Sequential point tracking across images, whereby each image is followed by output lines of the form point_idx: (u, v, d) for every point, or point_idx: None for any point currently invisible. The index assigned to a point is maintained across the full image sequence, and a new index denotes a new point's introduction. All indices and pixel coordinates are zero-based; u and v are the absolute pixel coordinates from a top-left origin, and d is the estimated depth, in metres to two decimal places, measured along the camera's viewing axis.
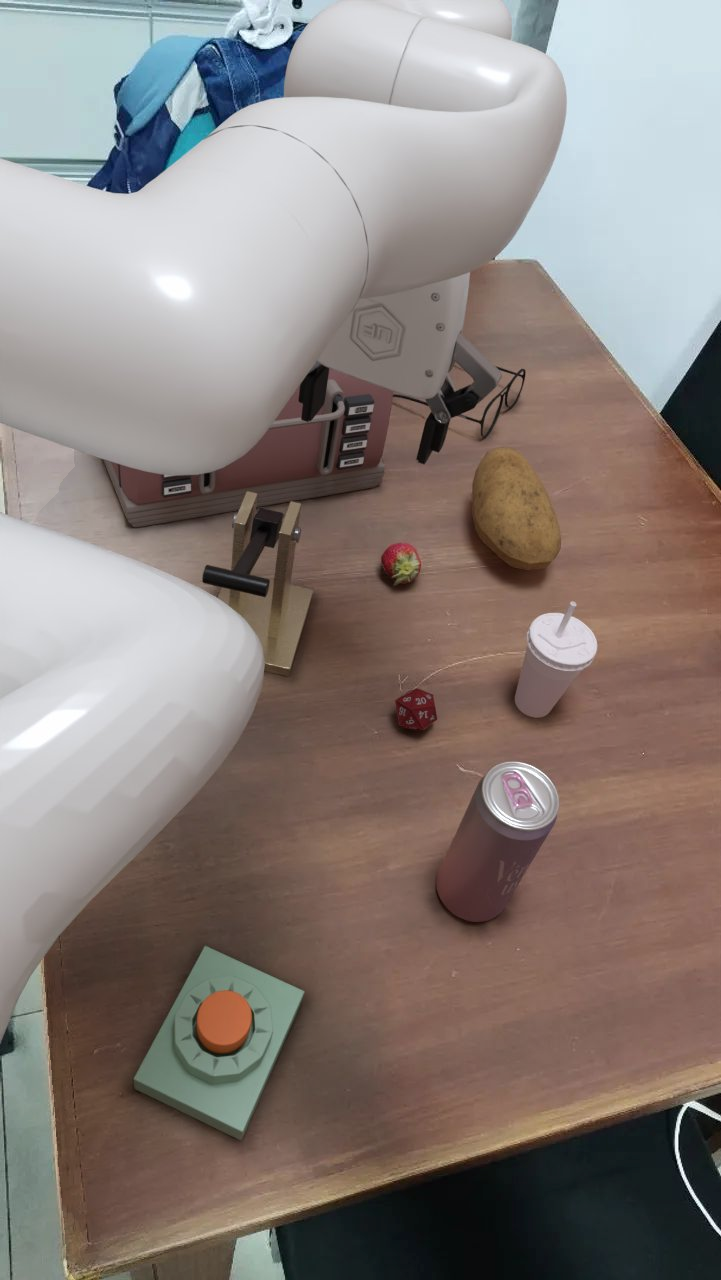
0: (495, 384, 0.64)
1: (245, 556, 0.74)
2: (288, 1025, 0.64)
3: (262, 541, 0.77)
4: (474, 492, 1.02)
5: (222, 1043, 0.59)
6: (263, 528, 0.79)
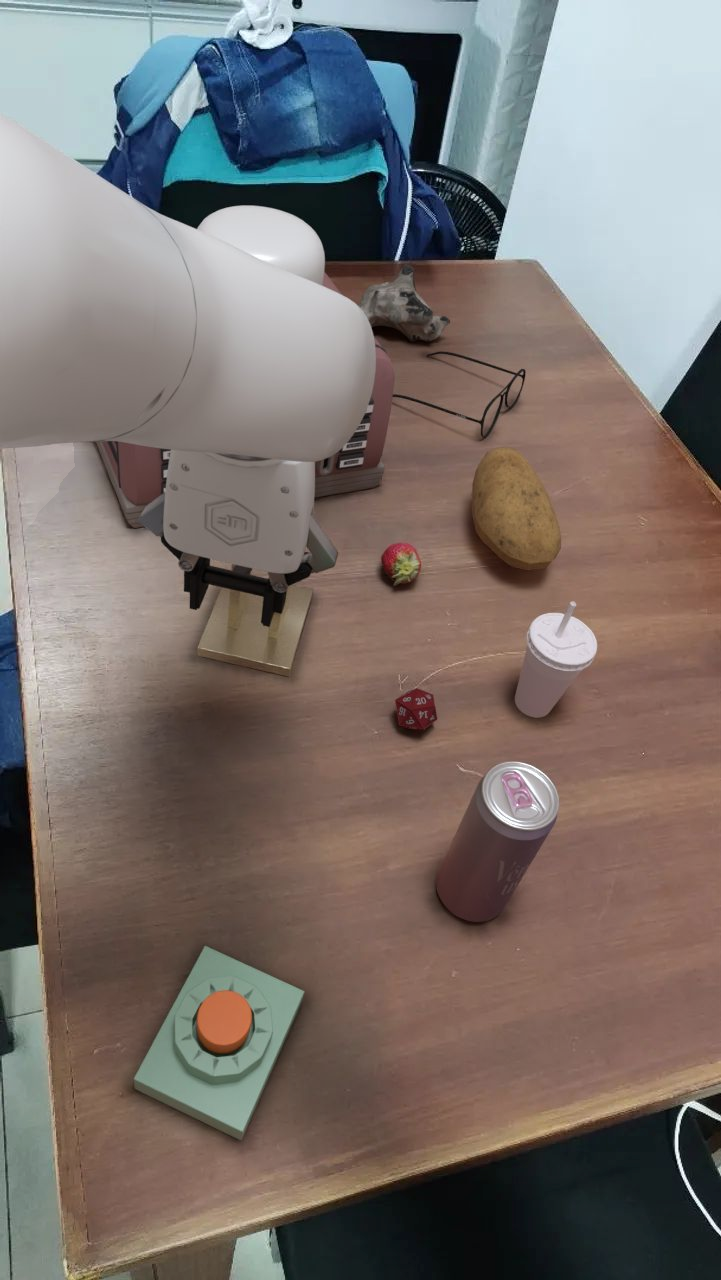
0: (333, 565, 0.67)
1: None
2: (288, 1025, 0.64)
3: None
4: (474, 492, 1.02)
5: (222, 1043, 0.59)
6: None
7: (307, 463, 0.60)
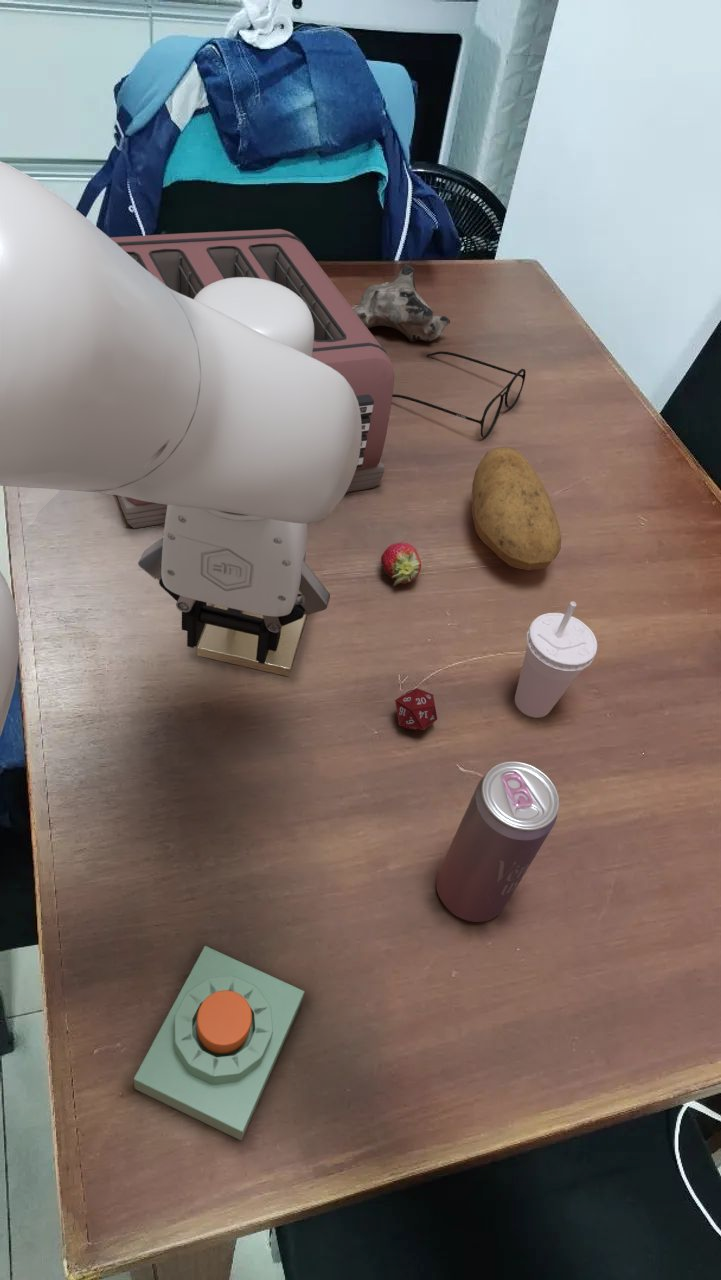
0: (325, 607, 0.69)
1: None
2: (288, 1025, 0.64)
3: None
4: (474, 492, 1.02)
5: (222, 1043, 0.59)
6: None
7: None
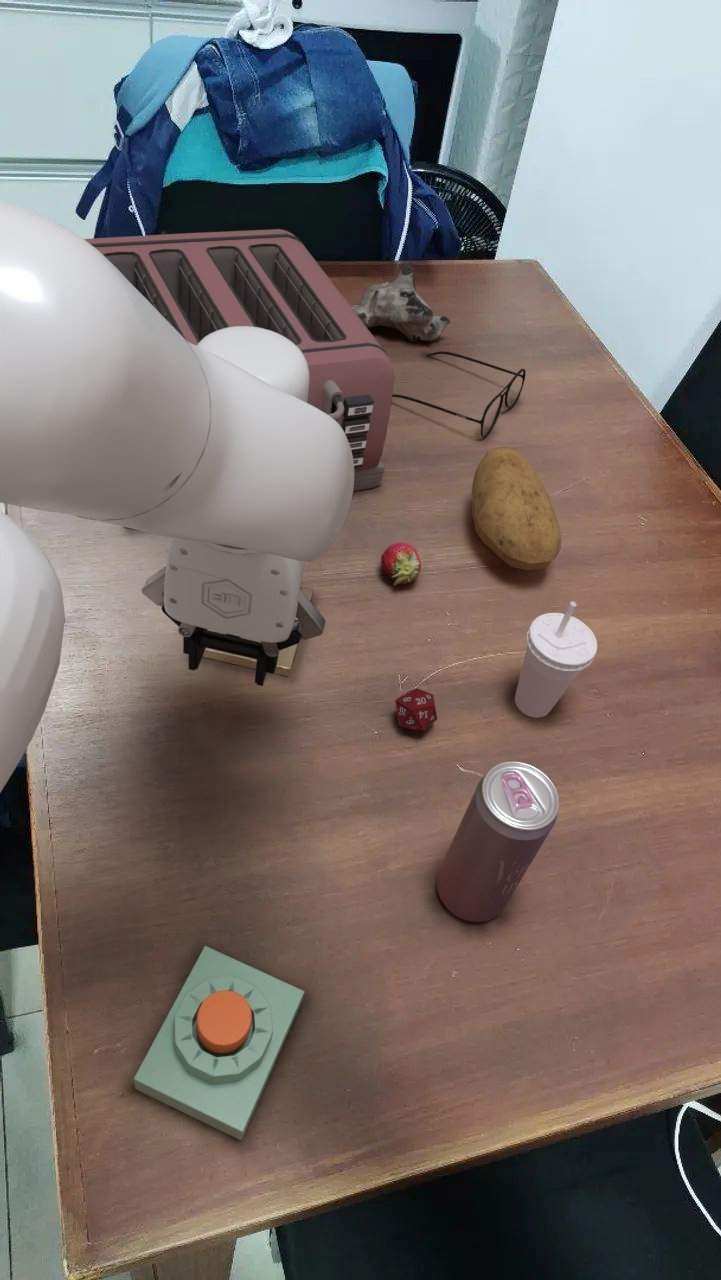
0: (320, 633, 0.72)
1: None
2: (288, 1025, 0.64)
3: None
4: (474, 492, 1.02)
5: (222, 1043, 0.59)
6: None
7: None
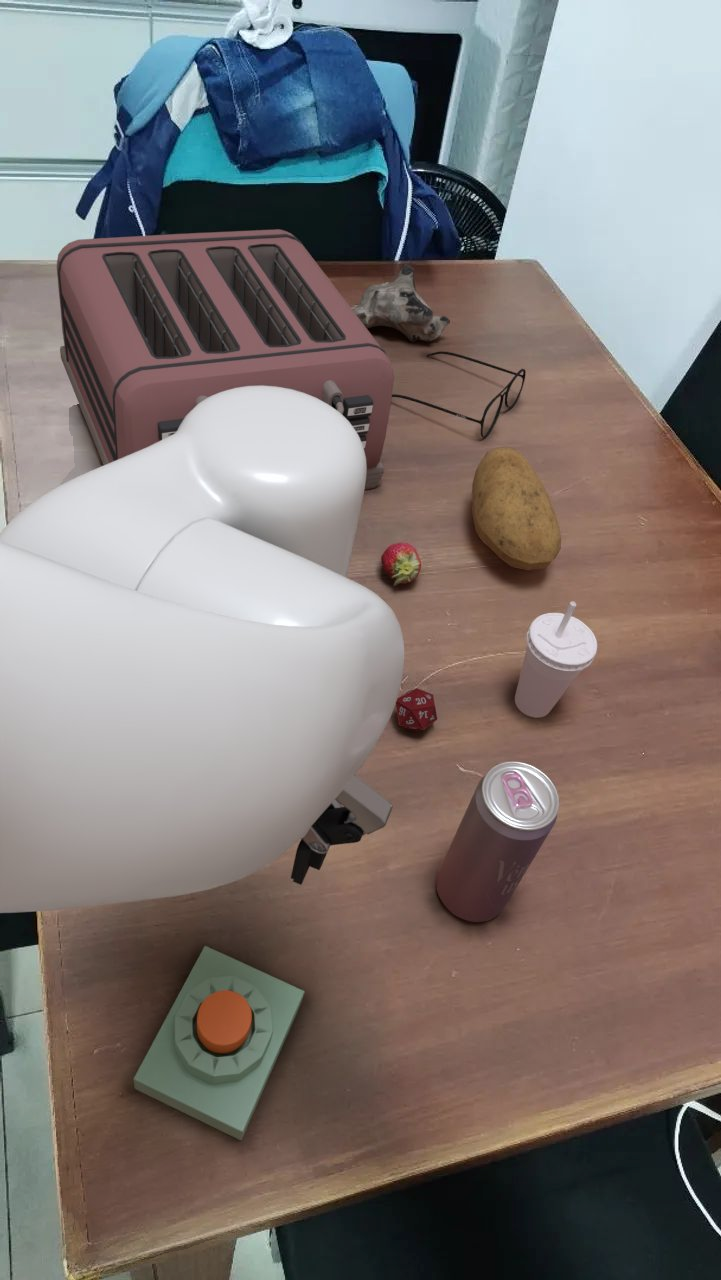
0: (383, 824, 0.48)
1: None
2: (288, 1025, 0.64)
3: None
4: (474, 492, 1.02)
5: (222, 1043, 0.59)
6: None
7: None
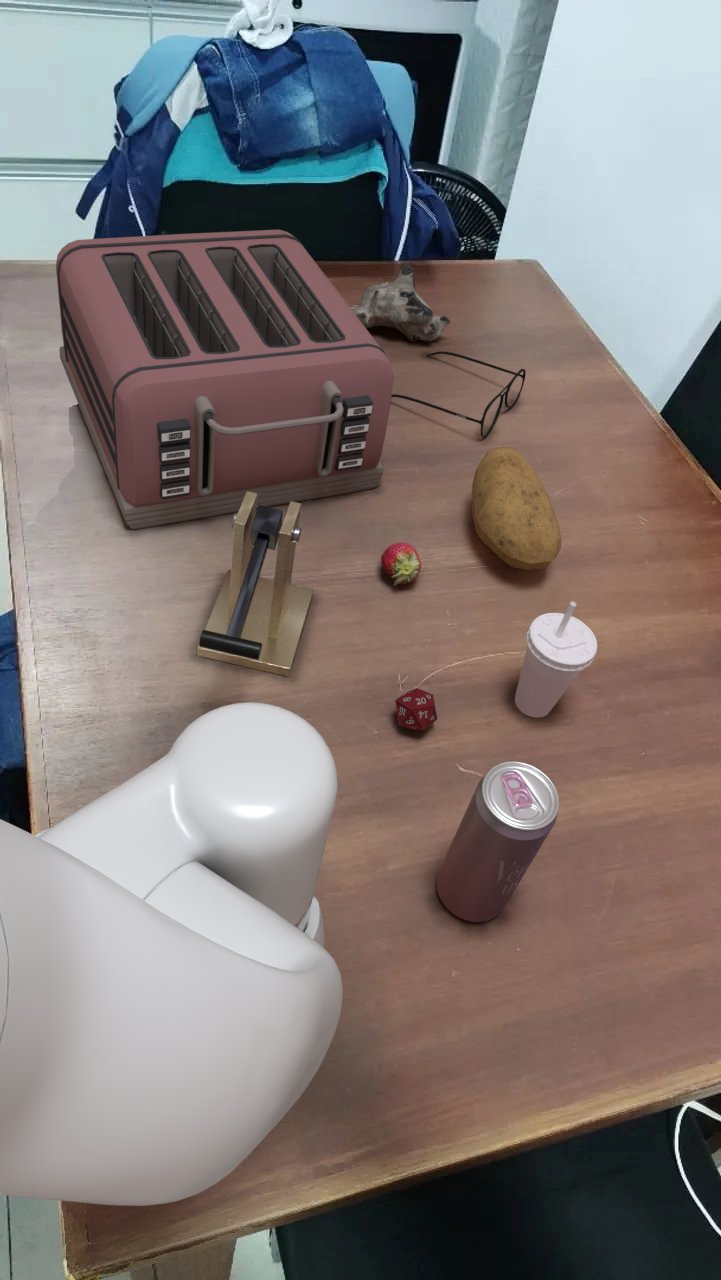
0: None
1: (240, 602, 0.77)
2: None
3: (259, 566, 0.79)
4: (474, 492, 1.02)
5: None
6: (261, 539, 0.80)
7: None
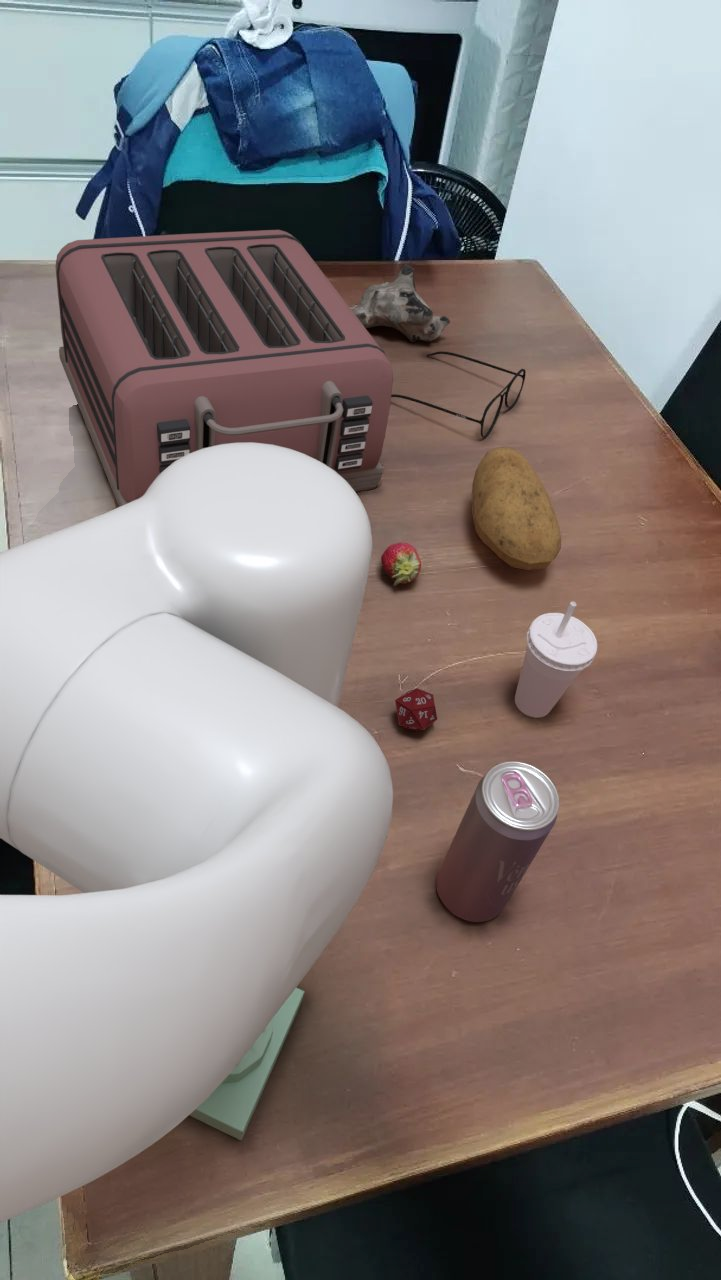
0: None
1: None
2: (288, 1025, 0.64)
3: None
4: (474, 492, 1.02)
5: None
6: None
7: None
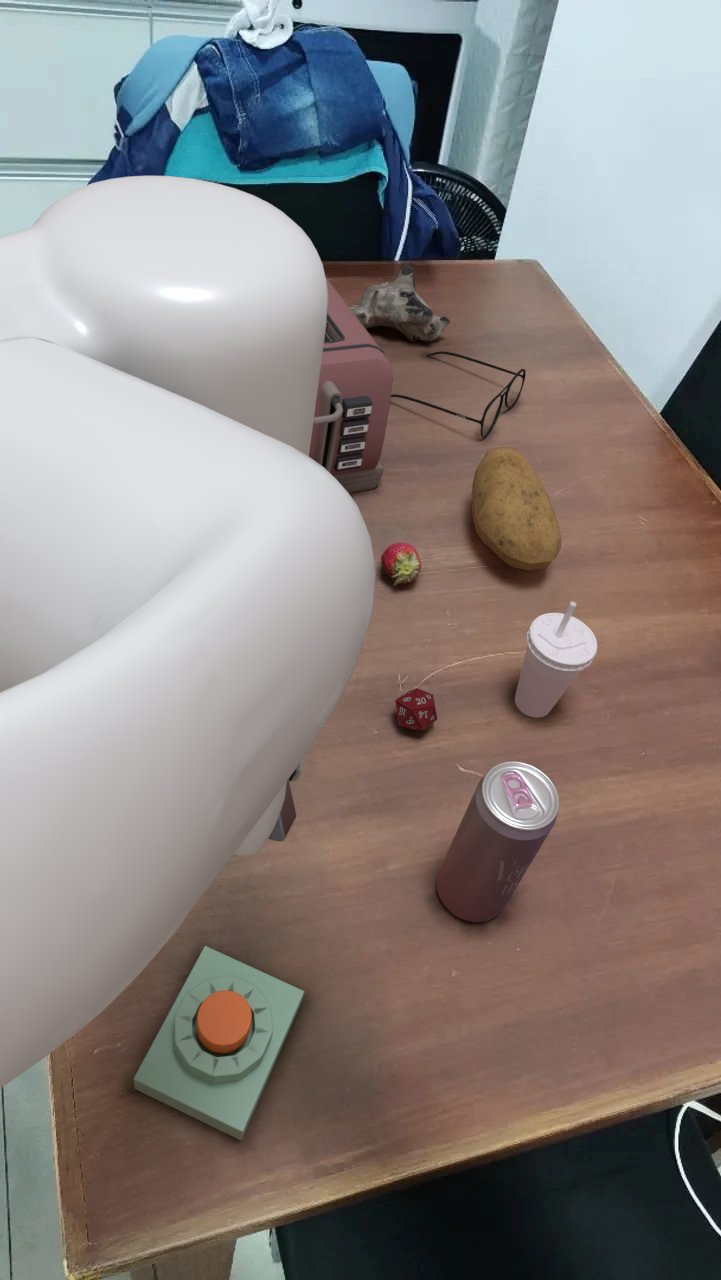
0: (278, 840, 0.38)
1: None
2: (288, 1025, 0.64)
3: None
4: (474, 492, 1.02)
5: (222, 1043, 0.59)
6: None
7: None
